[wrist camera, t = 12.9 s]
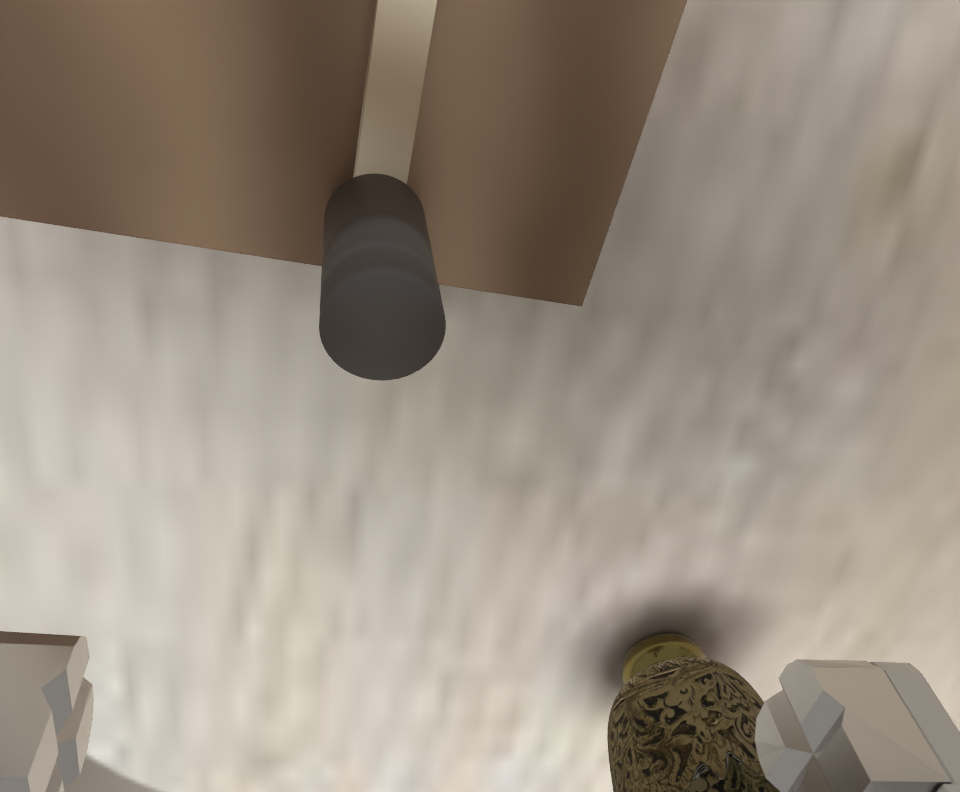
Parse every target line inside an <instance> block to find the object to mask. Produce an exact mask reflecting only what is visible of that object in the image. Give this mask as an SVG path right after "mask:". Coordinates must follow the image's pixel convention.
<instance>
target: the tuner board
mask: <svg viewBox="0 0 960 792" xmlns="http://www.w3.org/2000/svg"><path fill="white" fill-rule="evenodd" d="M686 2H687V0H437V4H436V10H435V16H434V22H433V28H432V34H431V40H430V46H429V52H428V58H427V64H426V70H425V77H424V83H423V89H422V95H421V101H420V107H419V113H418V119H417V125H416V131H415V137H414V143H413V149H412V155H411V162H410V168H409V174H408V180H407V185H408V186H409V187H410V188H411V189H412V190H413V191H414V192H415V193H416V195H417V196H418V198H419V199H420V202H421V204H422V206H423V209H424V214H425V219H426V224H427V229H428V234H429V239H430V244H431V249H432V254H433V259H434V264H435V269H436V274H437V280H438V284H441V285H448V286H454V287H460V288H467V289H473V290H480V291H486V292H493V293H499V294H506V295H512V296H519V297H525V298H532V299H538V300H544V301H551V302H557V303H564V304H570V305H577V306H582V304H583V301H584V298H585V296H586V293H587V290H588V287H589V284H590V281H591V278H592V275H593V272H594V269H595V266H596V264H597V261H598V258H599V255H600V252H601V249H602V246H603V243H604V240H605V237H606V234H607V232H608V229H609V226H610V223H611V220H612V217H613V214H614V211H615V208H616V205H617V202H618V200H619V197H620V194H621V191H622V188H623V185H624V182H625V179H626V176H627V173H628V170H629V168H630V165H631V162H632V159H633V156H634V153H635V150H636V147H637V144H638V141H639V138H640V136H641V133H642V130H643V127H644V124H645V121H646V118H647V115H648V112H649V109H650V107H651V104H652V101H653V98H654V95H655V92H656V89H657V86H658V83H659V80H660V77H661V75H662V72H663V69H664V66H665V63H666V60H667V57H668V54H669V51H670V48H671V45H672V43H673V40H674V37H675V34H676V31H677V28H678V25H679V22H680V19H681V16H682V13H683V11H684V8H685V5H686ZM375 3H376V0H0V216H2V217H8V218H15V219H21V220H28V221H34V222H41V223H47V224H53V225H60V226H66V227H73V228H79V229H86V230H92V231H99V232H105V233H112V234H118V235H125V236H131V237H137V238H144V239H150V240H157V241H163V242H170V243H176V244H183V245H189V246H196V247H202V248H209V249H215V250H221V251H228V252H234V253H241V254H247V255H254V256H260V257H267V258H273V259H280V260H286V261H292V262H299V263H305V264H312V265H318V266H322V255H323V233H324V214H325V209H326V206H327V203H328V201H329V199H330V197H331V196H332V194H333V193H334V191H335V190H336V189H337V188H338V187H339V186H340V185H342V184H343V183H344V182H346V181H348V180H349V179H351V178H353V175H354V168H355V160H356V152H357V144H358V136H359V128H360V121H361V113H362V105H363V97H364V89H365V82H366V74H367V66H368V58H369V50H370V42H371V35H372V27H373V19H374V11H375Z"/></svg>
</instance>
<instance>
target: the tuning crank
mask: <svg viewBox="0 0 960 792" xmlns="http://www.w3.org/2000/svg"><path fill="white" fill-rule="evenodd" d="M436 4H437V0H376V3H375V11H374V19H373V27H372V35H371V42H370V50H369V58H368V66H367V74H366V82H365V89H364V97H363V105H362V113H361V121H360V128H359V136H358V144H357V152H356V160H355V168H354V175H353V178H351V179H349V180H348V181H346V182H344V183H343V184H342V185H340V186H339V187H338V188H337V189H336V190H335V191H334V193H333V194H332V196H331V197H330V199H329V201H328V203H327V206H326V209H325V214H324V233H323V255H322V277H321V300H320V322H319V330H320V337H321V341H322V344H323V346H324V348H325V350H326V352H327V353H328V355H329V356H330V357H331V358H332V360H333V361H334V362H335V363H336V364H338V365H339V366H340V367H341V368H343V369H344V370H346V371H348V372H349V373H351V374H354V375H356V376H359V377H362V378H366V379H372V380H392V379H398V378H401V377H405V376H408V375H410V374H412V373H414V372H416V371H418V370H420V369H421V368H422V367H424V366H425V365H426V364H427V363H429V362H430V361H431V360H432V358H433V357H434V356H435V355H436V353H437V352H438V350H439V349H440V347H441V344H442V342H443V339H444V335H445V329H446V324H445V315H444V310H443V305H442V300H441V295H440V290H439V285H438V280H437V274H436V269H435V264H434V259H433V254H432V249H431V244H430V239H429V234H428V229H427V224H426V219H425V214H424V209H423V206H422V204H421V202H420V199H419V198H418V196H417V195H416V193H415V192H414V191H413V190H412V189H411V188H410V187H409V186H408V185H407V180H408V174H409V168H410V162H411V155H412V149H413V143H414V137H415V131H416V125H417V119H418V113H419V107H420V101H421V95H422V89H423V83H424V77H425V70H426V64H427V58H428V52H429V46H430V40H431V34H432V28H433V22H434V16H435V10H436Z"/></svg>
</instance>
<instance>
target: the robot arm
mask: <svg viewBox="0 0 960 792" xmlns="http://www.w3.org/2000/svg"><path fill="white" fill-rule="evenodd" d="M88 660H89V651H88V644H87V638H86V637H84V636H69V635H53V634H36V633H19V632H3V631H0V792H64V789H65V788H66V787H67V786H68V785H69V784H70V783H72V782H73V781H74V780H75V779H76V778H77V777H78V776H79V775H80V772H81V769H82V765H83V762H84V759H85V755H86V751H87V748H88V742H89V737H90V731H91V725H92V720H93V700H94V699H93V687H92V684H91V683H90V682H89V681H87V680H86V679H85V678H84V677H83V676H84V673H85V670H86V667H87V663H88ZM779 680H780V682H781V685H782V688H783V690H782V691H781V692H779V693H777V694H776V695H774V696H773V697H771V698H769V699H768V700H766V701H765V703H764V705H763V706H762V708H761V710H760V712H759V714H758V716H757V718H756V730H755V744H756V749H757V754H758V759H759V761H760V764H761V767H762V769H763V772H764V774H765V777H766V779H767V780H768V781H769V782H771V783H772V784H773V785H774V786H775V787H776V788H777V789H778V790H779V791H780V792H960V732H959V730H958V729H957V727H956V726H955V724H954V723H953V721H952V720H951V718H950V717H949V715H948V713H947V712H946V710H945V709H944V707H943V706H942V704H941V703H940V701H939V700H938V698H937V696H936V695H935V693H934V692H933V690H932V689H931V687H930V686H929V684H928V683H927V681H926V679H925V678H924V676H923V675H922V674H921V673H920V671H919V670H917V669H916V668H915V667H913V666H912V665H911V664H910V663H889V662H867V661H850V660H798V659H797V660H795V661H794V662H792V663H790V664H788V665H787V666H786V667H785V669H784V671H783V672H782V674H781V676H780V677H779Z"/></svg>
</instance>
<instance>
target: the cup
mask: <svg viewBox="0 0 960 792" xmlns="http://www.w3.org/2000/svg"><path fill="white" fill-rule="evenodd" d="M622 681H623V684H624V686H623V688H622V689H621V691H620V692H619V694H618V695H617V697H616V699H615V701H614V703H613V706H612V709H611V712H610V716H609V722H608V752H609V762H610V770H611V777H612V784H613V791H614V792H780V791H779V790H778V789H777V788H776V787H775V786H774V785H773V784H772V783H771V782H769V781H768V780H767V779H766V777H765V774H764V772H763V769H762V767H761V764H760V761H759V759H758V754H757V749H756V744H755V730H756V718H757V716H758V714H759V712H760V710H761V708H762V706H763V705H764V702H763V700H762V699H761V697H760V696H759V695H758V693H757V692H756V691H755V690H754V689H753V687H752V686H751V685H750V684H749V683H748V682H747V681H746V680H745V679H744V678H743V677H742V676H740V675H739V674H738V673H737V672H736V671H734V670H732V669H731V668H729V667H727V666H726V665H724V664H722V663H719V662H716V661H714V660H710V659H706V656H705V653H704V652H703V650H702V649H701V648H700V647H699V646H698V645H697V644H696V643H695V642H694V641H693V640H691V639H690V638H688V637H686V636H683V635H680V634H674V633H666V634H659V635H655V636H651V637H649V638H646V639H644V640H642V641H641V642H639V643H637V644H636V645H635V646H634V647H632V648H631V649H630V651H629V652H628V653H627V655H626V657H625V659H624V662H623V667H622Z"/></svg>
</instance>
